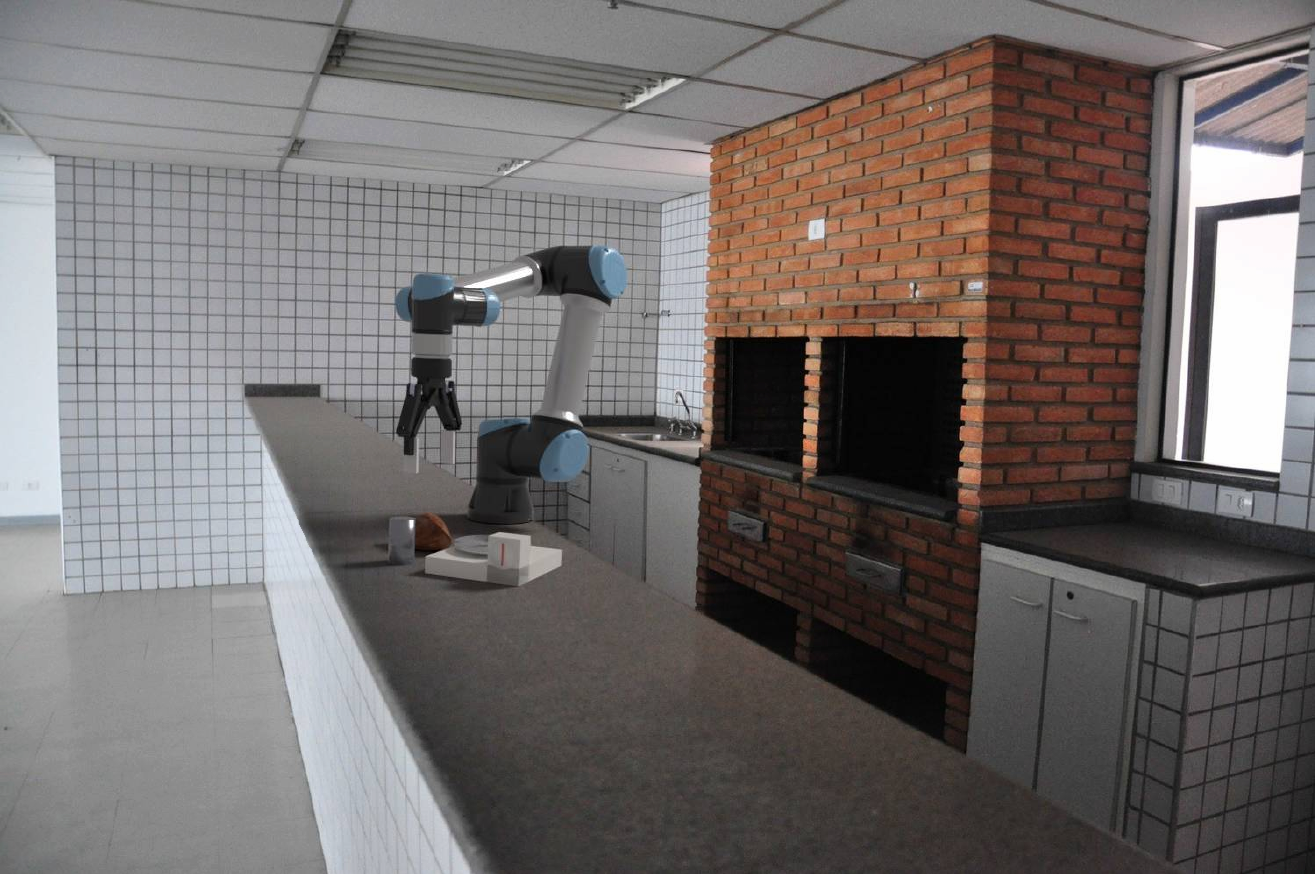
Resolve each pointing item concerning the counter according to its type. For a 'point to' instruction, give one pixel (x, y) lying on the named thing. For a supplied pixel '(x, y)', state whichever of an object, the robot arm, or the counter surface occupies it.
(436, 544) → the brown lumpy chunk
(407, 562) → the metal cylinder
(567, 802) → the counter surface
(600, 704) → the counter surface
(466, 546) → the pan
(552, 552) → the scale
